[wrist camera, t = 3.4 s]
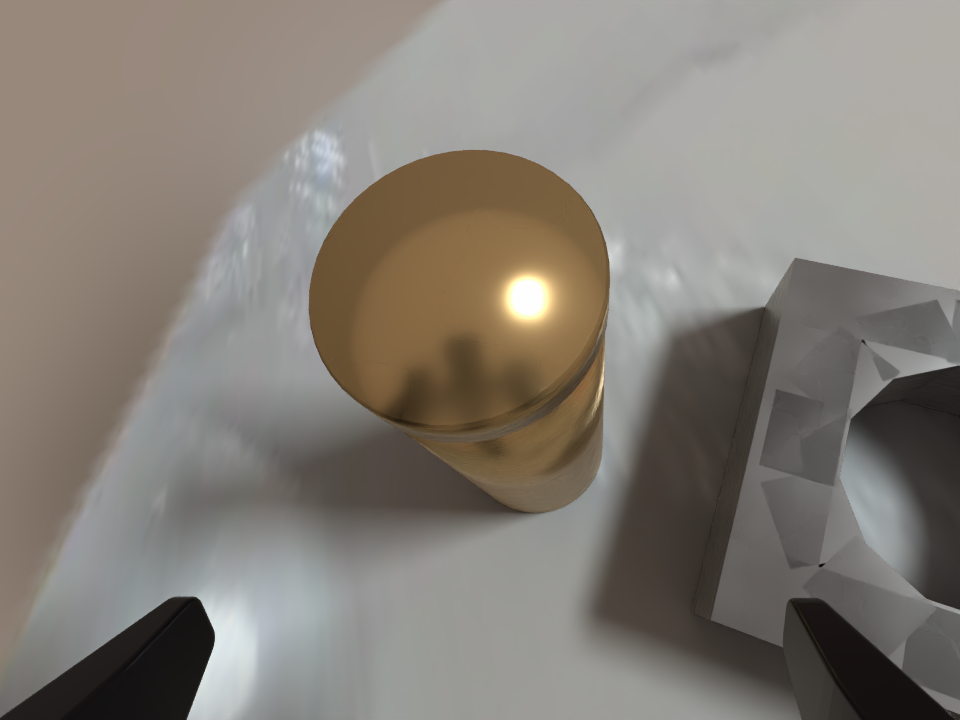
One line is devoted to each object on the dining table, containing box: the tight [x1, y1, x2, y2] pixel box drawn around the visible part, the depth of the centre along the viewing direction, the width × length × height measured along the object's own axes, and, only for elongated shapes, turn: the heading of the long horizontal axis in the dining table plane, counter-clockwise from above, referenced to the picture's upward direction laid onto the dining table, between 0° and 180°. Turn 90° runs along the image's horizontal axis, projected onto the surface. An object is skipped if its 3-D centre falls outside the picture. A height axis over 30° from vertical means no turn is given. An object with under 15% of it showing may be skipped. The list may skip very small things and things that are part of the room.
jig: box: [691, 258, 960, 714], centre depth 17 cm, size 11×11×4 cm
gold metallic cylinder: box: [309, 150, 610, 513], centre depth 15 cm, size 5×5×13 cm
